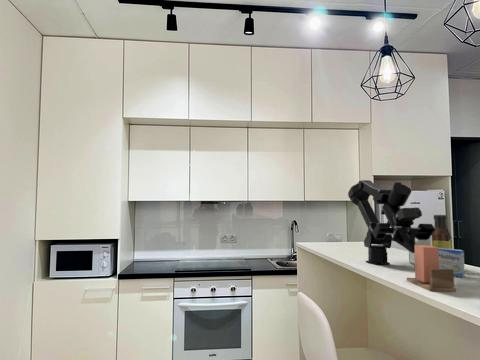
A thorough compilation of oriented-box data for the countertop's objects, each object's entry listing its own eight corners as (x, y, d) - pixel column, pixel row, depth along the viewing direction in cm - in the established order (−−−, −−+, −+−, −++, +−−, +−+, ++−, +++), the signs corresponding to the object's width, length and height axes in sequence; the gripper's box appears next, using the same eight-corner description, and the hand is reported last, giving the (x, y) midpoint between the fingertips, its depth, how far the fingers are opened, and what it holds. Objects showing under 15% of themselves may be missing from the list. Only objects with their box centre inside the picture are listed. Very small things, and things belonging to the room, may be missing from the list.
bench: (406, 280, 95) (406, 261, 95) (429, 280, 95) (429, 261, 96) (430, 291, 84) (429, 269, 84) (456, 291, 84) (455, 269, 84)
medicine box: (434, 273, 105) (433, 248, 106) (437, 271, 108) (436, 247, 109) (462, 278, 100) (462, 251, 100) (464, 275, 103) (464, 249, 104)
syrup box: (432, 265, 119) (431, 228, 120) (418, 265, 118) (417, 227, 119) (421, 262, 125) (420, 226, 126) (408, 263, 124) (407, 226, 125)
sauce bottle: (457, 271, 109) (455, 215, 110) (439, 271, 109) (437, 215, 110) (445, 267, 115) (443, 214, 117) (428, 267, 116) (427, 214, 117)
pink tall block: (415, 278, 93) (414, 245, 94) (429, 278, 93) (428, 245, 94) (424, 282, 88) (423, 247, 89) (439, 282, 89) (438, 247, 89)
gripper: (376, 198, 104) (393, 235, 92) (430, 199, 104) (455, 236, 92) (366, 220, 111) (381, 257, 99) (417, 221, 112) (438, 258, 100)
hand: (413, 252), depth 98 cm, fingers closed
